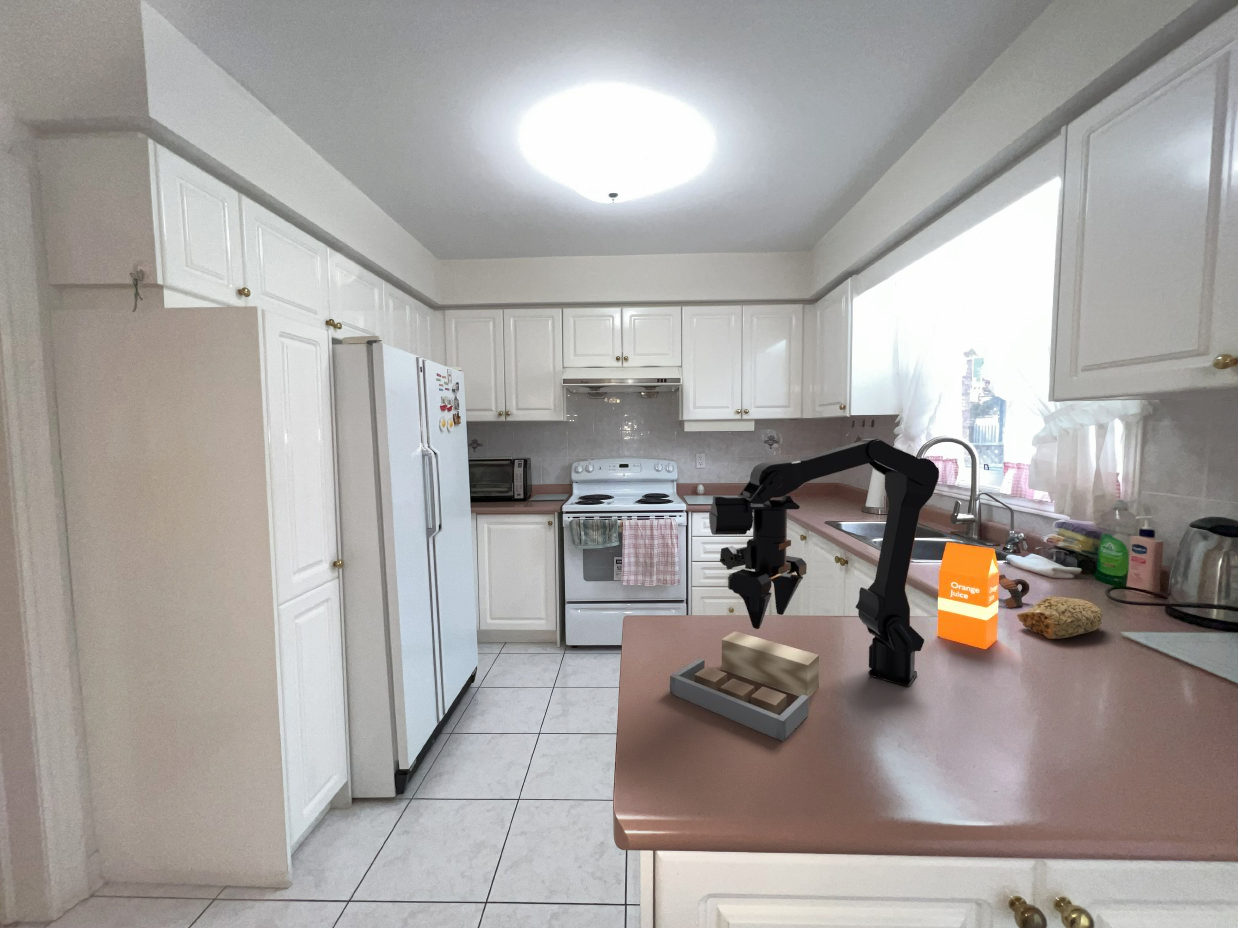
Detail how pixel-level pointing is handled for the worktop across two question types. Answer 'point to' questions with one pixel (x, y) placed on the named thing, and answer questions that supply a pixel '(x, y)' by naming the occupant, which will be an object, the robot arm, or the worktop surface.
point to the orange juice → (968, 595)
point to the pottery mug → (1014, 590)
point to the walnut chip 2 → (770, 700)
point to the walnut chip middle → (738, 690)
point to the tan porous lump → (1062, 617)
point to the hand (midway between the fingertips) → (768, 621)
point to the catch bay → (737, 704)
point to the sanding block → (771, 663)
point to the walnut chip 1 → (711, 678)
